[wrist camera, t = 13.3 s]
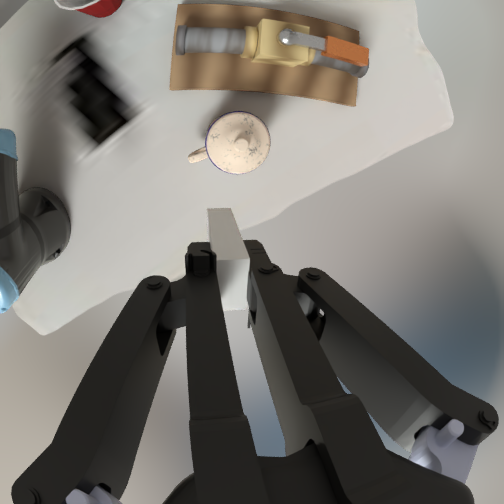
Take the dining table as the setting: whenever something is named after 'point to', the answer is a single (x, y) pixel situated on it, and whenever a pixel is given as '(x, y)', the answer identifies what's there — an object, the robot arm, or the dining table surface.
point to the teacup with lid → (235, 143)
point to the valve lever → (327, 46)
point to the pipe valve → (258, 54)
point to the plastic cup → (91, 6)
